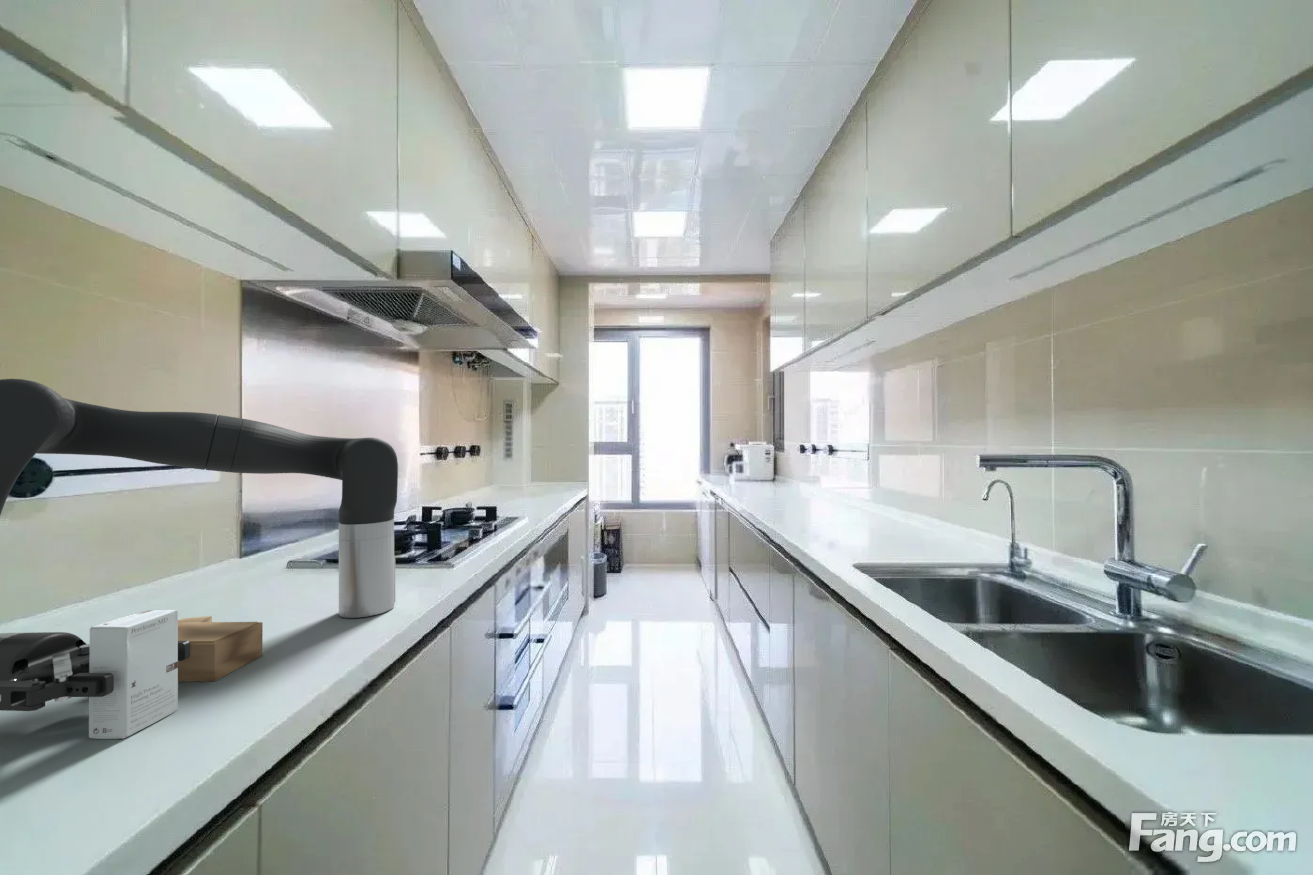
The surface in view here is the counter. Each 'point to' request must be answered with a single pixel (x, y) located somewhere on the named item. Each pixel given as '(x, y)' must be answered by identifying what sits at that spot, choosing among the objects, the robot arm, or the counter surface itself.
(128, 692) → the skincare box
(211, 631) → the block
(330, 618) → the counter surface
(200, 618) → the block
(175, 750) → the counter surface
